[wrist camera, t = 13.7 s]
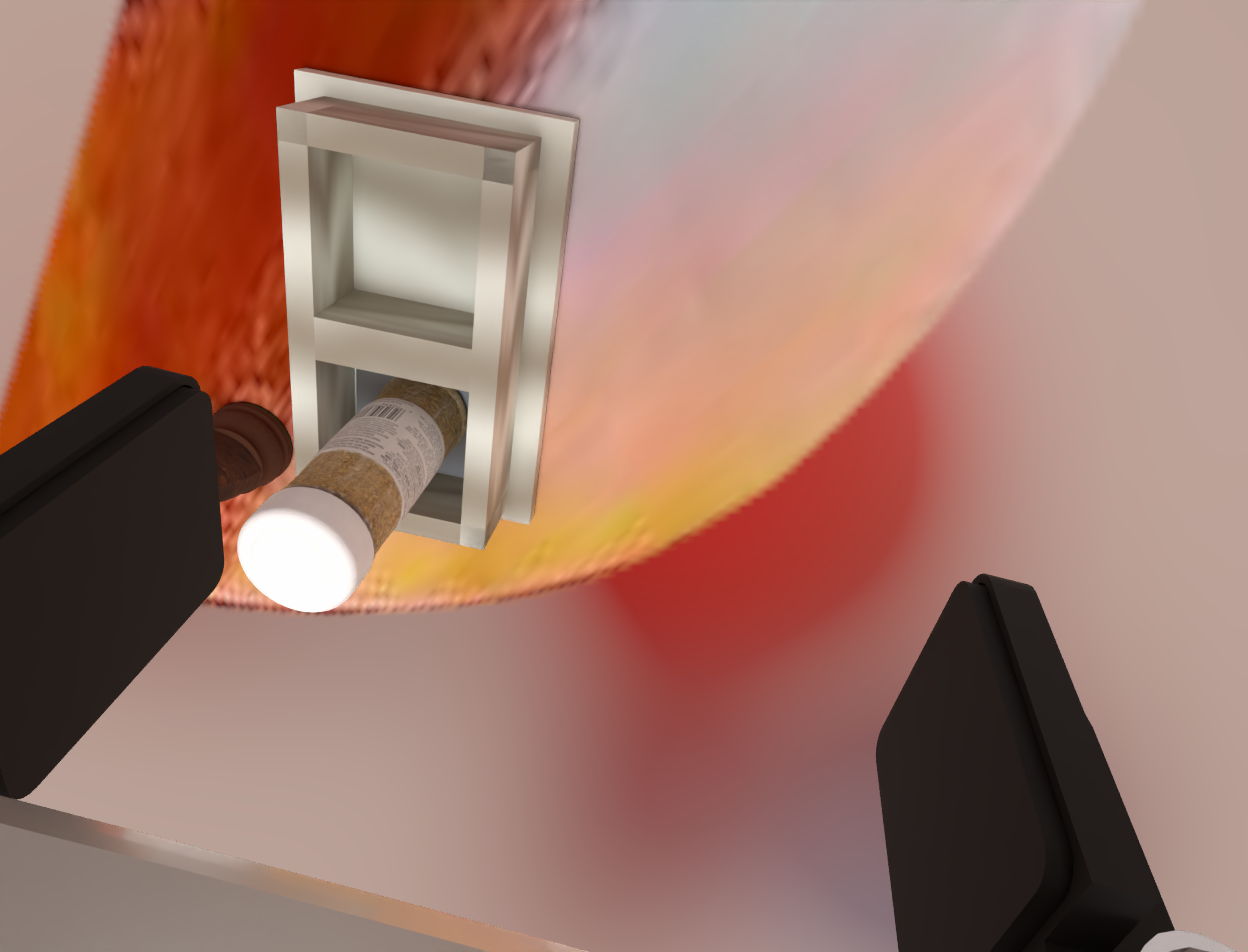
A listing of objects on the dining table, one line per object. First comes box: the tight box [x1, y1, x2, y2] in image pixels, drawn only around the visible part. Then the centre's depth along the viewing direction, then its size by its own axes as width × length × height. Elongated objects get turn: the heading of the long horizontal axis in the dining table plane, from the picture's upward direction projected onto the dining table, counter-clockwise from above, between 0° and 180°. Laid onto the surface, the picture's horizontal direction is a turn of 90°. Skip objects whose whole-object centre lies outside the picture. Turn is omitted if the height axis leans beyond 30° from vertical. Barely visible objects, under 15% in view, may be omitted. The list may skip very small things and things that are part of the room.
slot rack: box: [276, 68, 580, 550], centre depth 39 cm, size 20×12×5 cm, turn 171°
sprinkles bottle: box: [237, 377, 467, 612], centre depth 36 cm, size 5×5×13 cm
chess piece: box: [213, 403, 292, 502], centre depth 42 cm, size 5×5×10 cm
